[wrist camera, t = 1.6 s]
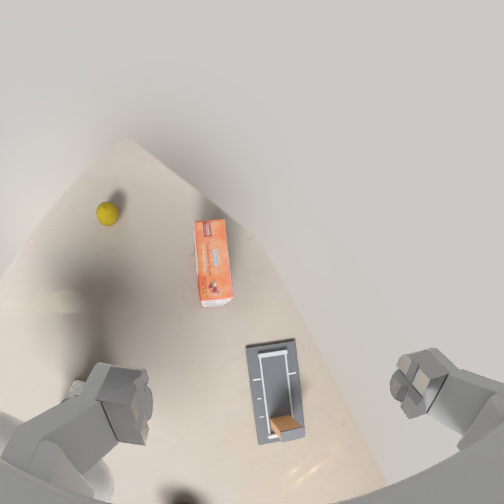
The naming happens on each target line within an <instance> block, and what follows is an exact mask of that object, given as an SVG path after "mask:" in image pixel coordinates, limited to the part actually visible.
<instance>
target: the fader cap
mask: <svg viewBox="0 0 504 504" xmlns="http://www.w3.org/2000/svg"><path fill="white" fill-rule="evenodd" d="M270 425H271V428H272V429H273V430H274V432H275V433H276V434H277V436H278V437H279V438H280V440H281V442H286V441H290V440H295V439H299V438H303V437H305V432H304V427H303V426H301V425H300V424H299V423H298V422H297V421H296V420H295V419H294V418H293V417H292V416H290V415H284V416H280V417H275V418H270Z"/></svg>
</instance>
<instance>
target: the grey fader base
mask: <svg viewBox="0 0 504 504" xmlns="http://www.w3.org/2000/svg"><path fill="white" fill-rule="evenodd" d="M246 355H247V363H248V371H249V379H250V387H251V394H252V402H253V409H254V417H255V424H256V431H257V438H258V444H259V445H262V444H267V443H272V442H277V441H281V440H280V438H279V437H278V436H277V434H276V433H275V432H274V430H273V429H272V428H271V425H270V418H275V417H280V416H284V415H290V416H292V417H293V418H294V419H295V420H296V421H297V422H298V423H299V424H300V425H301V426H303V427H304V420H303V410H302V400H301V390H300V381H299V372H298V363H297V354H296V346H295V341H290V342H284V343H277V344H271V345H264V346H256V347H249V348H246ZM304 432H305V431H304Z"/></svg>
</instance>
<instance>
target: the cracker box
mask: <svg viewBox="0 0 504 504" xmlns="http://www.w3.org/2000/svg"><path fill="white" fill-rule="evenodd" d="M194 246H195V262H196V274H197V283H198V290H199V296H200V301H201V305H202V307H214V306H224V305H226V304H227V303H228V302H230V301H231V300H232V299H233V298H234V296H233V287H232V279H231V270H230V261H229V253H228V244H227V235H226V225H225V219H215V220H203V221H194Z"/></svg>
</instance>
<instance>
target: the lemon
mask: <svg viewBox="0 0 504 504" xmlns="http://www.w3.org/2000/svg"><path fill="white" fill-rule="evenodd" d="M96 214H97V218H98V220H99V222H100V223H101V224H103V225H106V226H110V225H113V224H114V223H115V222H116V221H117V219H118V210H117V208H116V206H115V205H114V204H112V203H110V202H103V203H101V204H100V205H99V206H98V208H97V212H96Z"/></svg>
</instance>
